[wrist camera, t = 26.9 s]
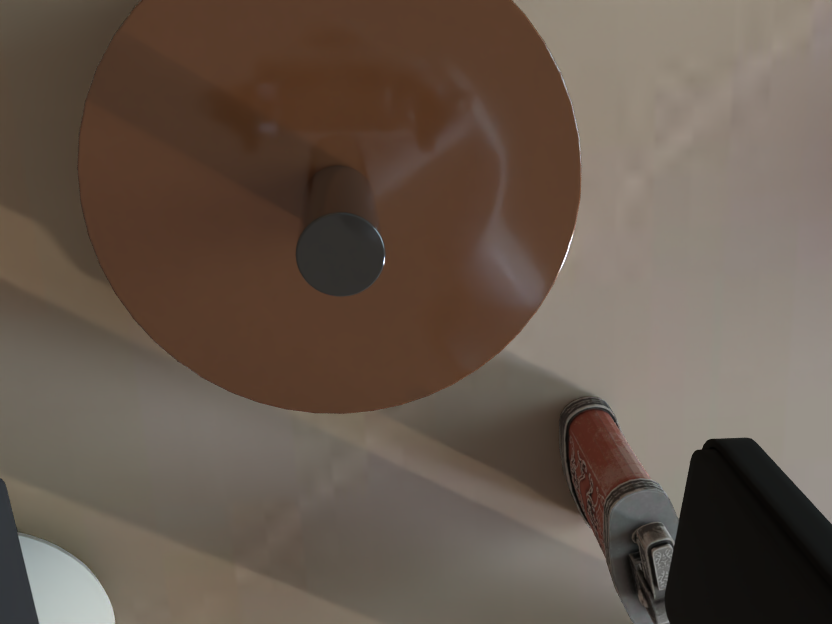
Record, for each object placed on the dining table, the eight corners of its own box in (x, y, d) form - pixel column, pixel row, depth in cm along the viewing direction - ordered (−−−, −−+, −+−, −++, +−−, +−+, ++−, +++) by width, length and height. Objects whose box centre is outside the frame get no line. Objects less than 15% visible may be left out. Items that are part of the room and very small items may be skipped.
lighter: (636, 510, 41) (725, 663, 32) (576, 528, 41) (647, 686, 32) (613, 388, 37) (704, 520, 28) (547, 407, 37) (618, 545, 28)
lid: (598, -70, 23) (691, -87, 17) (549, 390, 30) (604, 494, 24) (46, -86, 22) (-65, -111, 16) (124, 405, 29) (68, 521, 22)
